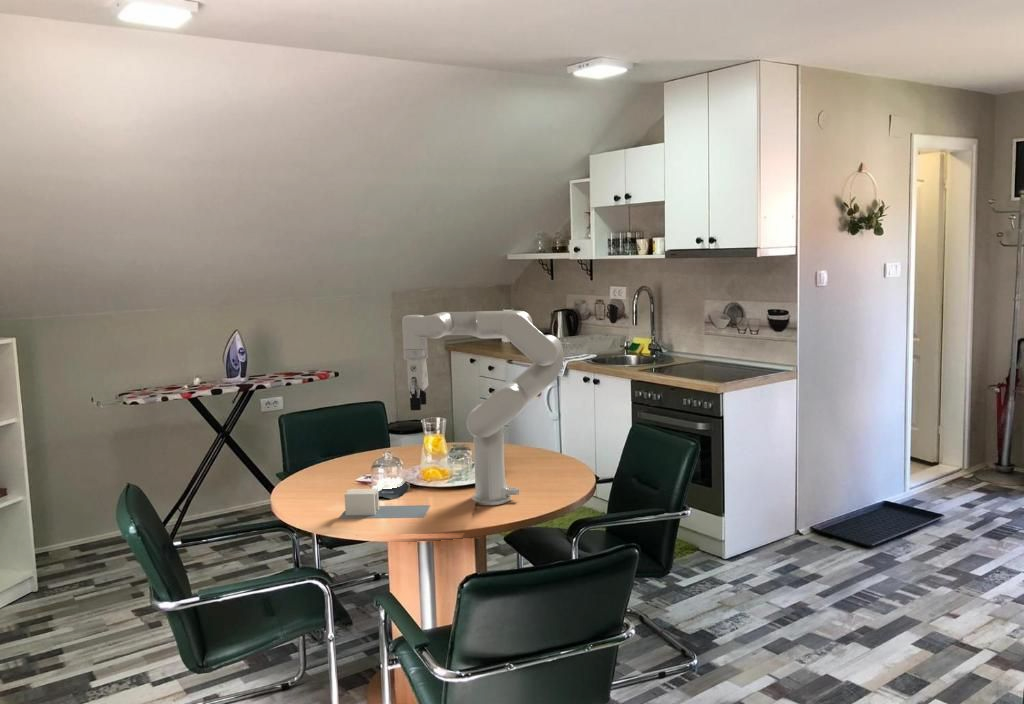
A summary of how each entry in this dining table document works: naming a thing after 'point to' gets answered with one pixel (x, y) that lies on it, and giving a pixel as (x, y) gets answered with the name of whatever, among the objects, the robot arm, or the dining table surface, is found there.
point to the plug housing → (361, 501)
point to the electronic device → (394, 491)
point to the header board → (393, 512)
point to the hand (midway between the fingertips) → (418, 407)
